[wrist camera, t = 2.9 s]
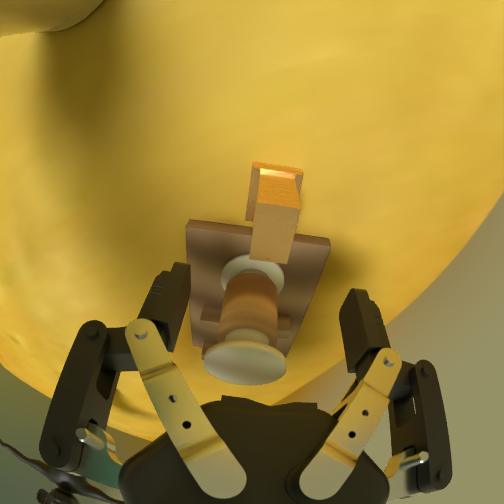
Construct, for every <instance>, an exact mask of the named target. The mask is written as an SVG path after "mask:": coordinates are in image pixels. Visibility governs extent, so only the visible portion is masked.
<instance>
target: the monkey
mask: <svg viewBox="0 0 504 504" xmlns="http://www.w3.org/2000/svg"><path fill="white" fill-rule="evenodd" d="M0 445H2V446H3V447H5V448H7V449H8V450H10V451H11V452H12V453H13V454H14V455H15V456H16V457H17V458H19V459H20V460H21V461H23V462H25V463H27V464H29V465H30V466H31V467H33V468H34V469H36V470H37V471H39V472H40V473H42V474H43V475H44V476H45V477H47V478H48V479H49V480H50V481H52V482H54V483H55V484H56V485H58V488H54V489H52V490H51V492H49V493H47V492H46V491H45V490H43V489H40V490H39V491H38V493H37V500H38V502H39V503H40V504H80V503H79V501H78V499H77V498H76V497H75V496H74V495H73V494H74V493H75V494H79V495H83V496H86V497H90V498H94V499H97V500H101V501H105V502H108V503H111V504H125V502H124V501H120V500H116V499H113V498H111V497H109V496H108V495H106V494H105V493H103V491H101V490H100V489H98V488H96V487H94V486H92V485H91V484H89V483H88V481H87V479H86V477H83V476H77V475H73V474H70V473H66V472H63V471H61V470H59V469H57V468H54V467H51V466H49V465H48V464H46V463H44V462H42V461H39V460H35V459H29V458H27V457H25V456H24V455H23V454H21V453H20V452H19V451H18V450H16V449H15V448H13V447H12V446H10V445H8V444H6V443H4V442H3V441H2V440H1V439H0Z"/></svg>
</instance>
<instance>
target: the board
mask: <svg viewBox="0 0 504 504" xmlns="http://www.w3.org/2000/svg"><path fill="white" fill-rule="evenodd" d="M251 236H252V227H245V226H237V225H230V224H222V223H214V222H206V221H198V220H190V219H189V222H188V224H187V226H186V250H187V264H190V265H191V293H190V298H189V306H190V319H191V330H192V341H193V346H196V347H202V348H203V350H202V360H204V367H205V369H206V370H207V371H208V372H209V373H210V374H211V375H213V376H214V377H216V378H218V379H220V380H223V381H226V382H229V383H233V384H239V385H262V384H267V383H271V382H274V381H276V380H278V379H280V378H281V377H282V376H283V375H284V374H285V372H286V359H285V357H286V356H287V354H288V352H289V350H290V348H291V345H292V343H293V341H294V339H295V336H296V334H297V332H298V330H299V327H300V325H301V323H302V320H303V318H304V316H305V313H306V311H307V308H308V306H309V304H310V301H311V299H312V296H313V294H314V291H315V289H316V286H317V284H318V281H319V279H320V276H321V274H322V271H323V268H324V266H325V263H326V260H327V258H328V255H329V252H330V249H331V244H330V240H329V239H328V238H321V237H315V236H308V235H301V234H295V235H294V239H293V243H292V246H291V250H290V254H289V258H288V262H287V264H282V263H274V262H266V261H259V260H251V259H249V254H250V245H251Z"/></svg>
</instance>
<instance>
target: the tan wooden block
mask: <svg viewBox="0 0 504 504" xmlns="http://www.w3.org/2000/svg"><path fill="white" fill-rule="evenodd" d="M302 178H303V173H302V169H297V168H291V167H285V166H279V165H272V164H265V163H258V162H253V165H252V172H251V180H250V187H249V195H248V203H247V211H246V219H245V220H246V221H253V227H252V236H251V245H250V254H249V259H251V260H259V261H266V262H274V263H282V264H287V262H288V258H289V254H290V250H291V246H292V243H293V239H294V235H295V231H296V227H297V223H298V219H299V215H300V211H301V207H300V202H299V197H298V196H299V192H300V187H301V183H302Z"/></svg>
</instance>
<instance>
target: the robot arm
mask: <svg viewBox="0 0 504 504" xmlns="http://www.w3.org/2000/svg"><path fill="white" fill-rule="evenodd" d="M102 1H103V0H0V36H7V35H14V34H22V33H30V32H47V31H60V30H64V29H68V28H70V27H72V26H74V25H76V24H77V23H79V22H80V21H82V20H83V19H85V18H86V17H87V16H88V15H89V14H91V13H92V12H93V11H94V10H95V9H96V8H97V7H98V6H99V5H100V4H101V3H102ZM190 293H191V265H190V264H185V263H179V262H175V263H174V265H173V267H172V269H171V272H168V271H162V272H161V273H160V274H159V275H158V276H157V277H156V278H155V280H154V282H153V284H152V287H151V289H150V291H149V293H148V295H147V297H146V300H145V302H144V304H143V306H142V309H141V311H140V313H139V316H138V317H137V319H136V320H133V321H132V322H130V323H129V324H128V325H127V326H126V327H120V328H106V326H105V325H104V324H103V323H102V322H100V321H97V320H92V321H88V322H86V323H85V324H83V325H82V326H81V328H80V329H79V332H78V334H77V336H76V338H75V341H74V343H73V345H72V348H71V350H70V352H69V355H68V357H67V360H66V362H65V365H64V367H63V370H62V373H61V375H60V378H59V381H58V383H57V386H56V389H55V392H54V395H53V398H52V401H51V404H50V407H49V411H48V414H47V417H46V420H45V424H44V428H43V431H42V435H41V440H40V443H39V451H40V454H41V457H42V458H43V460H44V461H45V462H46V463H47V464H48V465H49V466H51V467H54V468H57V469H59V470H61V471H63V472H66V473H70V474H73V475H77V476H83V477H86V478H88V479H91V480H93V481H96V482H99V483H102V484H104V485H107V486H110V487H113V488H116V489H120V492H121V494H122V497H123V499H124V502H125V504H386V502H387V501H388V500H393V499H397V498H400V499H403V498H409V497H413V496H418V495H422V494H426V493H430V492H434V491H438V490H441V489H444V488H445V487H446V486H447V485H448V484H449V483H450V480H451V478H452V461H451V452H450V442H449V435H448V428H447V422H446V416H445V411H444V405H443V400H442V396H441V391H440V386H439V382H438V378H437V374H436V370H435V368H434V366H433V365H432V364H431V363H430V362H429V361H427V360H420V361H418V362H417V363H416V364H415V365H414V364H411V363H408V362H404V361H402V360H401V357H400V355H399V354H398V353H397V352H396V351H395V350H393V349H391V347H390V344H389V340H388V336H387V333H386V330H385V326H384V325H383V320H382V318H381V317H382V316H381V313H380V310H379V308H378V306H377V305H376V304H375V302H374V301H371V300H370V299H369V296H368V293H367V291H366V290H363V289H355V288H352V289H351V290H350V291H349V293H348V295H347V297H346V299H345V301H344V303H343V305H342V307H341V309H340V313H339V321H340V326H341V332H342V338H343V344H344V350H345V356H346V362H347V368H348V373H356V378H355V379H354V381H353V382H352V384H351V385H350V387H349V388H348V390H347V391H346V393H345V394H344V396H343V398H342V399H341V400H340V402H339V403H338V405H337V406H336V407H335V408H334V409H333V410H332V412H331V413H330V414H329V413H327V412H325V411H322V410H320V409H317V403H301V402H294V403H288V404H282V405H277V406H267V405H264V404H261V403H258V402H255V401H252V400H250V399H247V398H240V397H232V396H225V395H222V398H221V401H213V402H209V403H206V404H203V405H201V406H199V404H198V402H197V401H196V399H195V397H194V396H193V394H192V392H191V390H190V389H189V387H188V385H187V383H186V381H185V380H184V378H183V376H182V374H181V372H180V370H179V369H178V367H177V365H176V364H174V363H173V361H172V359H171V357H170V355H169V353H168V352H173V351H174V348H175V344H176V341H177V338H178V334H179V331H180V327H181V324H182V321H183V317H184V314H185V311H186V308H187V305H188V301H189V298H190ZM121 371H139V373H140V376H141V379H142V381H143V383H144V386H145V388H146V390H147V392H148V395H149V397H150V399H151V401H152V403H153V405H154V407H155V409H156V412H157V414H158V416H159V418H160V420H161V421H162V423H163V425H164V427H165V429H166V432H165V433H163V434H162V435H161V436H160V437H158V438H157V439H156V440H154V441H153V442H151V443H150V444H149V445H147V446H146V447H145V448H143V449H142V450H141V451H139V452H138V453H136V454H135V455H134V456H132V457H131V458H129V459H128V460H127V461H126V462H125V463H124V464H123V465H122V464H121V463H120V462H119V460H118V459H117V457H116V454H115V443H114V440H113V439H112V437H111V436H110V435H109V434H108V433H106V432H105V430H106V426H107V422H108V417H109V413H110V409H111V405H112V401H113V398H114V394H115V390H116V387H117V383H118V379H119V376H120V372H121ZM413 398H414V403H415V409H416V414H415V410H414V404H413ZM387 406H388V410H389V420H390V432H391V446H392V457H391V458H390V459H389V461H388V463H387V466H386V467H385V470H384V471H385V474H384V472H383V471H382V470H381V469H380V468H379V467H378V466H377V465H376V464H375V463H374V462H373V460H372V459H371V458H370V457H369V456H368V455H367V454H366V453H365V452H364V450H363V449H364V447H365V446H366V444H367V443H368V441H369V439H370V437H371V436H372V434H373V432H374V430H375V428H376V427H377V425H378V423H379V421H380V420H381V418H382V416H383V414H384V412H385V410H386V408H387Z"/></svg>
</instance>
